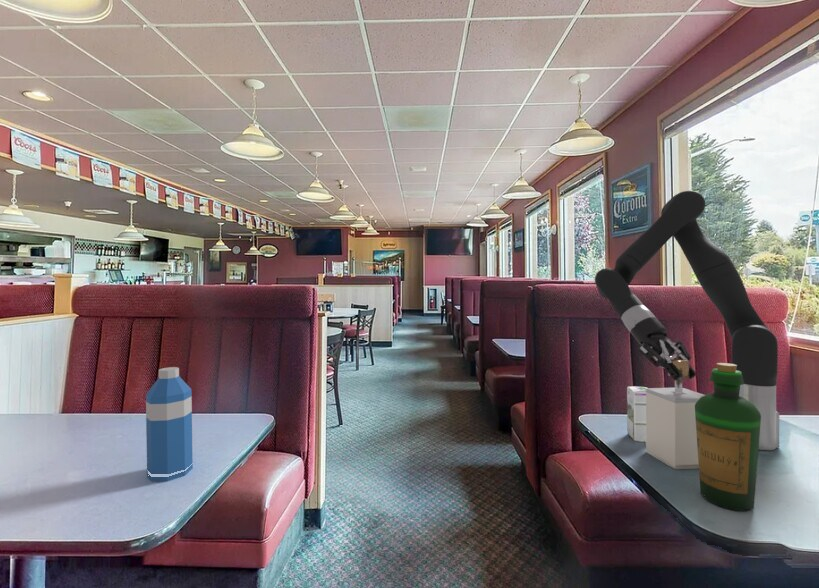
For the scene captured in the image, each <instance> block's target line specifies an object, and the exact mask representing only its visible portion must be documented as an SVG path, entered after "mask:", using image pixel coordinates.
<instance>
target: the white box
mask: <svg viewBox="0 0 819 588" xmlns="http://www.w3.org/2000/svg"><path fill="white" fill-rule="evenodd" d="M705 395H706V394H703V393H700V392H696V391H695V390H694V391H693V390H691V389H688V388H684V387H682V394H675V387H651V388H650V387H649V388H648V387H647V388H646V442H645V452H646V453H647V454H648V455H650V456H652V457H654V458H655V459H657V460H659V462H662V463H664V464H665V465H667V466H668V467H670V468H672V469H673V470H689V469H690V470H691V469H692V470H693V469H695V470H696V469H699V463H698V448H697V433H696V418H695V404H696V402H697V401H698V400H699V399H700V398H701V397H702V396H705Z"/></svg>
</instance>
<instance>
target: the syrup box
mask: <svg viewBox="0 0 819 588" xmlns="http://www.w3.org/2000/svg"><path fill="white" fill-rule="evenodd" d="M646 388H648V387H646V386H640V385H639V386H636V385H634V386H633V385H631V386H627V387H626V398H627V399H626V407H627V409H626V410H627V411H626V412H627V415H626V419H627V425H626V426H627V435H628V436H629V437H630V438H631V439H632V440H633V441H634V442H640V443H646Z"/></svg>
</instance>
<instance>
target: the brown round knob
mask: <svg viewBox="0 0 819 588" xmlns="http://www.w3.org/2000/svg"><path fill="white" fill-rule="evenodd" d="M670 360H671V362H672V363H671V364H674V365H675V366H676V367H677V369H678V370H679V371H680V372H681V374H682V375H683V377H682V378H680V379H679V380H674V388H675V394H682V388H683V379H689V365H690V360H689V361H687V360H681V359H678V358H676V359H670ZM667 376H669V377H671V376H670V374H669V373H668V372H667Z"/></svg>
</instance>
